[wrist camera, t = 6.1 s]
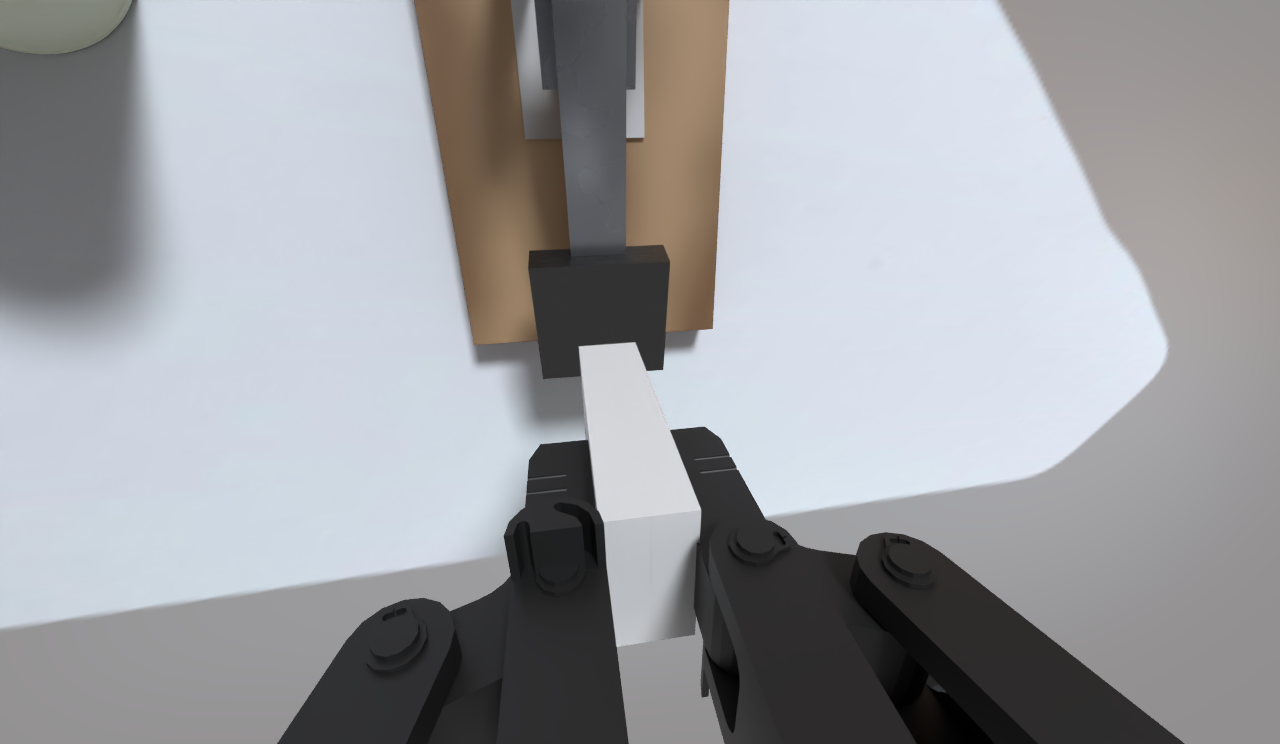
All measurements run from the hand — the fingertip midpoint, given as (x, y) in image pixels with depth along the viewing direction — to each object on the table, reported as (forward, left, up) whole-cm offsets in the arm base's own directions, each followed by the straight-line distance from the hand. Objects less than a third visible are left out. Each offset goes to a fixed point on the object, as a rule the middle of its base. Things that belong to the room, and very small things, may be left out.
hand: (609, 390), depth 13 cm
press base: (0, +6, -13) cm, 15 cm away
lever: (0, +7, -9) cm, 11 cm away
